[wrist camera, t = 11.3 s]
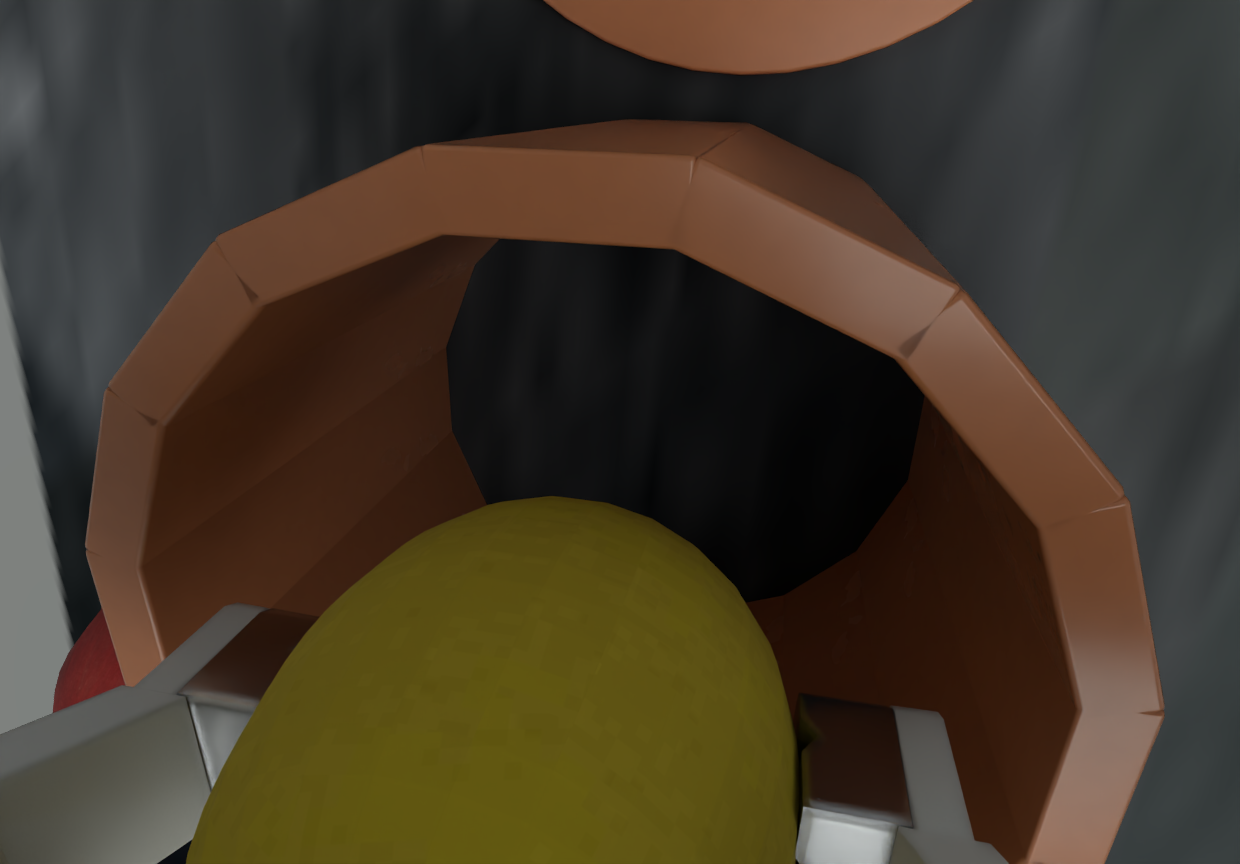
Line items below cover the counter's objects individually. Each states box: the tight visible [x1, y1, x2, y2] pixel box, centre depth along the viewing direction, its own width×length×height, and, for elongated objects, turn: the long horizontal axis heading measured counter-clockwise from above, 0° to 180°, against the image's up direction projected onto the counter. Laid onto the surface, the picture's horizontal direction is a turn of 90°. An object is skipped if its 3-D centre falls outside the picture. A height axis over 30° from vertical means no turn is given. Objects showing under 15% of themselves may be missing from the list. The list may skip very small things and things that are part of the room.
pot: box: [85, 119, 1165, 864], centre depth 14 cm, size 13×13×10 cm
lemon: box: [186, 496, 799, 864], centre depth 8 cm, size 6×6×8 cm
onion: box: [53, 609, 125, 713], centre depth 20 cm, size 6×6×8 cm
